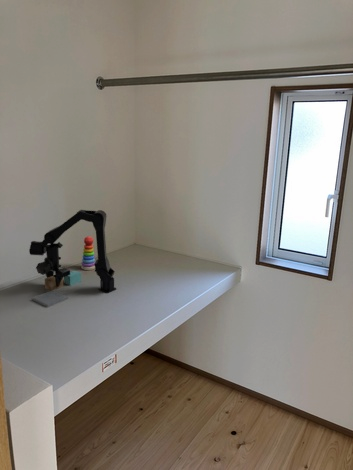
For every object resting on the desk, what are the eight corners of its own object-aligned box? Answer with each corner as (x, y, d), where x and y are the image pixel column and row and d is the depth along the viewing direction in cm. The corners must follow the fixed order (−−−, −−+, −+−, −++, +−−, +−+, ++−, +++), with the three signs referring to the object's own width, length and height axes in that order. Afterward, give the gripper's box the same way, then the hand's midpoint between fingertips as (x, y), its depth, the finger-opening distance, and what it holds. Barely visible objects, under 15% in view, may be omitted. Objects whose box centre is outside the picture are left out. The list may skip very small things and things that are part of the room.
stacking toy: (92, 271, 210) (91, 239, 205) (78, 269, 211) (78, 237, 206) (97, 266, 217) (97, 235, 212) (84, 265, 219) (84, 234, 214)
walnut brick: (63, 286, 189) (62, 277, 188) (51, 290, 183) (51, 281, 182) (56, 283, 192) (56, 274, 190) (45, 288, 186) (44, 278, 185)
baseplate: (67, 298, 176) (67, 296, 175) (47, 307, 167) (47, 304, 166) (52, 292, 181) (52, 290, 181) (32, 300, 173) (32, 297, 172)
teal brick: (81, 281, 196) (81, 272, 194) (70, 285, 190) (70, 276, 189) (74, 279, 199) (74, 270, 197) (64, 283, 193) (63, 274, 192)
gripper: (26, 255, 182) (28, 285, 186) (51, 264, 172) (52, 295, 176) (46, 250, 190) (47, 278, 195) (70, 258, 180) (71, 288, 185)
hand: (54, 285), depth 187 cm, fingers closed on walnut brick, 5 cm apart
